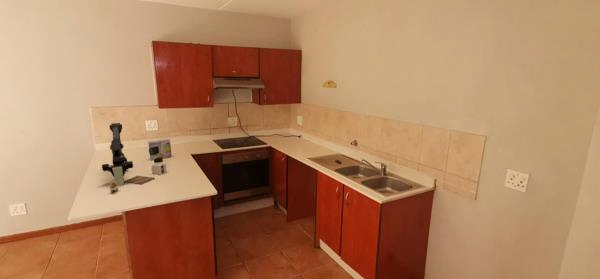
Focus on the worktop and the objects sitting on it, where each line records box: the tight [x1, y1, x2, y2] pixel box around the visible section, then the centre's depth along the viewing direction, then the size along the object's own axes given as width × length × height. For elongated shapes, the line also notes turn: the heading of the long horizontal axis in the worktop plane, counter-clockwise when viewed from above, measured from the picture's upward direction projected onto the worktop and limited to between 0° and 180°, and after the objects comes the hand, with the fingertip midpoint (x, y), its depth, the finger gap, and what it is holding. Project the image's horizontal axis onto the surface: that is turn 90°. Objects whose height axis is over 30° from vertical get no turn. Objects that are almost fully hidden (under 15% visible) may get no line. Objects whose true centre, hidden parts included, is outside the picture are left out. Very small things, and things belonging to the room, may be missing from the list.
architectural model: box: [108, 179, 121, 194], centre depth 196 cm, size 3×7×7 cm, turn 7°
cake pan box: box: [147, 138, 173, 161], centre depth 274 cm, size 19×5×18 cm, turn 129°
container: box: [150, 157, 168, 176], centre depth 234 cm, size 8×8×13 cm
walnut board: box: [124, 175, 156, 185], centre depth 218 cm, size 16×13×1 cm
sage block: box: [113, 166, 125, 187], centre depth 208 cm, size 5×5×13 cm
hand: (118, 176), depth 207 cm, fingers open, 5 cm apart
